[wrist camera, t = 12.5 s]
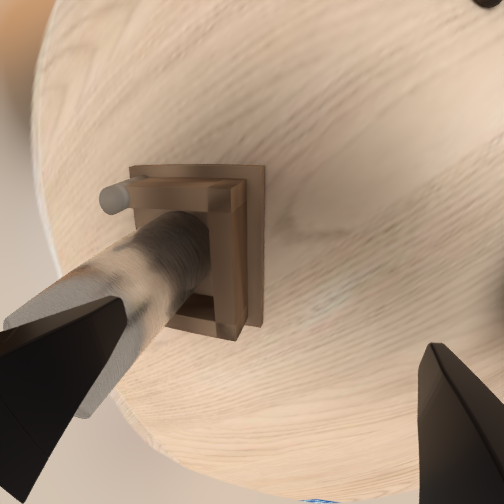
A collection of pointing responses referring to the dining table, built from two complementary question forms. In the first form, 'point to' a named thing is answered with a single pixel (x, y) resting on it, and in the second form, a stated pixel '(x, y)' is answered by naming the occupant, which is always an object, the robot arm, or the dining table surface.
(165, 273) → the grey cylinder
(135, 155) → the dining table surface
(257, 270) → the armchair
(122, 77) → the dining table surface
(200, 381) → the dining table surface
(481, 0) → the wrench
